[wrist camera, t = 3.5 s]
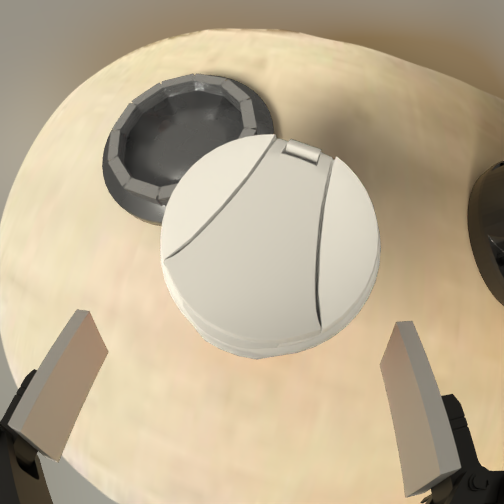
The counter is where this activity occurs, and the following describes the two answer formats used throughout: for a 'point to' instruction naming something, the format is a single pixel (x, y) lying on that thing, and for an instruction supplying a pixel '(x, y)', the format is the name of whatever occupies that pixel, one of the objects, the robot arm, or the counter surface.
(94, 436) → the counter surface
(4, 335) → the counter surface
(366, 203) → the paper cup
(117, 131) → the rosette plate
